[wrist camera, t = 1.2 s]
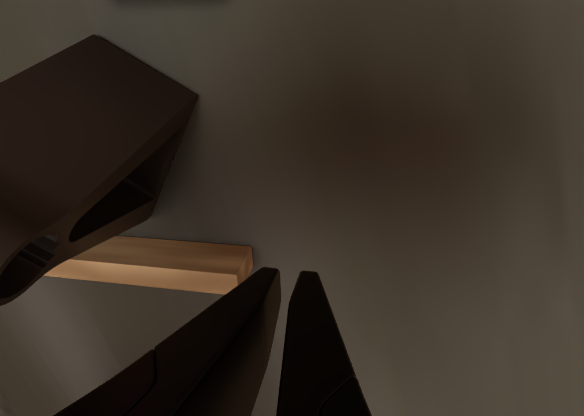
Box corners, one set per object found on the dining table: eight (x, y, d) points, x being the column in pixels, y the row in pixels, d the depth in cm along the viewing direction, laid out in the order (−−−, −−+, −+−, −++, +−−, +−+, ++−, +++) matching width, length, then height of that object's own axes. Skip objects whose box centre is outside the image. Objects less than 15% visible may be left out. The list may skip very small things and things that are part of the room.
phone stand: (98, 33, 19) (-229, 49, 9) (199, 94, 20) (6, 180, 9) (66, 169, 23) (-180, 291, 13) (150, 217, 24) (-21, 371, 13)
